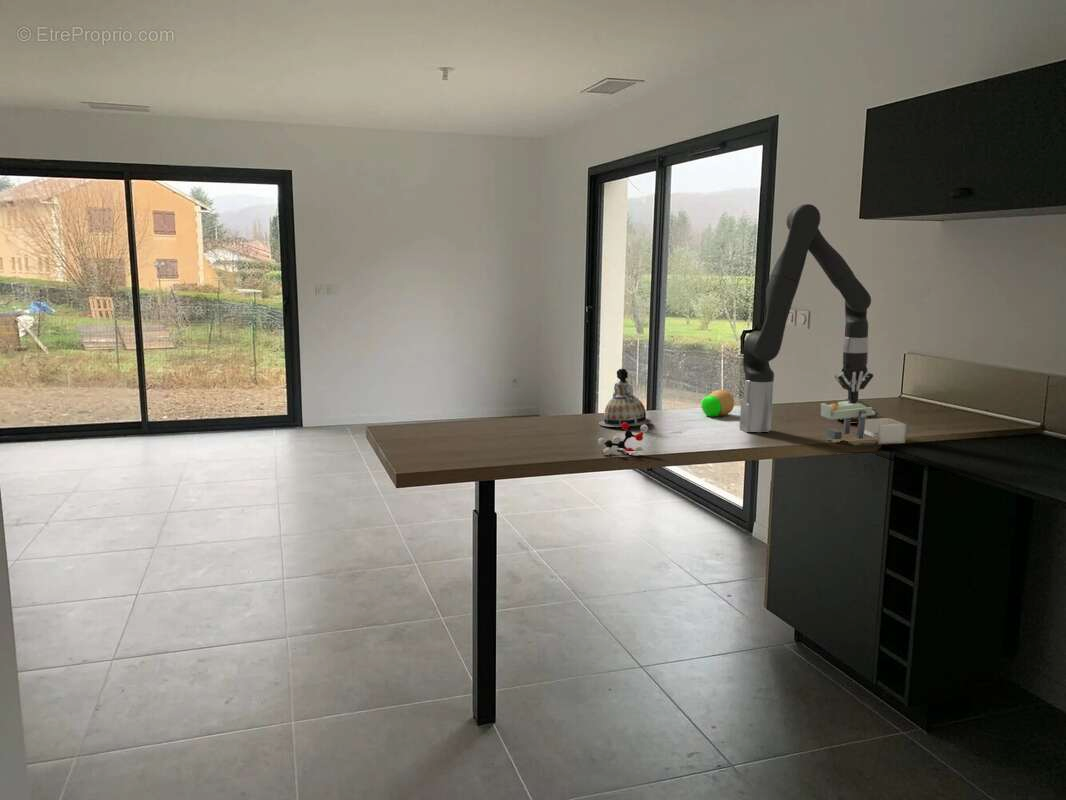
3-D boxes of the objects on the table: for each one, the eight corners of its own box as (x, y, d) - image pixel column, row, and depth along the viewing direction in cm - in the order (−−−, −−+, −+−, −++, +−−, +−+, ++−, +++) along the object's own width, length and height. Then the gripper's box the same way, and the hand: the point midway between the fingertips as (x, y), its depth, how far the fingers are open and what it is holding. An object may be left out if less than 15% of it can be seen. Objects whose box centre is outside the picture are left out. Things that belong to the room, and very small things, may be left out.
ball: (829, 412, 247) (834, 403, 247) (823, 410, 250) (828, 401, 250) (837, 416, 248) (842, 407, 248) (831, 414, 251) (836, 405, 251)
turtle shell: (850, 412, 269) (822, 390, 287) (846, 436, 272) (818, 413, 290) (894, 410, 271) (863, 388, 289) (889, 433, 274) (859, 411, 293)
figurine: (590, 422, 278) (592, 365, 276) (637, 420, 284) (639, 365, 281) (611, 431, 261) (614, 371, 258) (661, 429, 267) (664, 371, 264)
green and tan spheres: (737, 386, 285) (713, 395, 279) (741, 412, 286) (718, 421, 280) (714, 386, 295) (691, 395, 289) (719, 411, 296) (696, 420, 290)
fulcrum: (840, 446, 245) (843, 413, 243) (819, 436, 257) (821, 404, 255) (874, 444, 247) (877, 412, 245) (851, 435, 259) (854, 403, 257)
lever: (831, 419, 246) (831, 407, 245) (803, 408, 263) (803, 396, 262) (881, 414, 249) (881, 401, 248) (850, 403, 265) (851, 391, 265)
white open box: (878, 444, 248) (880, 425, 247) (861, 437, 257) (863, 419, 256) (904, 443, 249) (906, 424, 248) (887, 436, 258) (889, 418, 257)
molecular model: (611, 469, 232) (597, 440, 229) (605, 461, 240) (592, 432, 237) (658, 447, 232) (645, 418, 229) (651, 439, 240) (638, 410, 237)
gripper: (843, 353, 254) (840, 405, 257) (880, 350, 256) (877, 403, 260) (830, 350, 261) (828, 401, 265) (867, 347, 263) (864, 398, 267)
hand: (852, 402), depth 262 cm, fingers closed
